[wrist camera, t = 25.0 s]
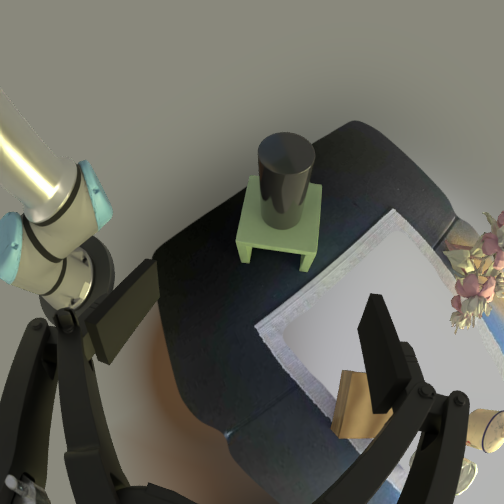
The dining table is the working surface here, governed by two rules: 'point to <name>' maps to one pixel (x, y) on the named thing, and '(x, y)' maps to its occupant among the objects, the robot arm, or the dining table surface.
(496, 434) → the teacup with lid
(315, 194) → the green step stool
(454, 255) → the flower
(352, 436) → the low shelf
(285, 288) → the dining table surface
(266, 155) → the dark grey cylinder
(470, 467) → the beer glass
